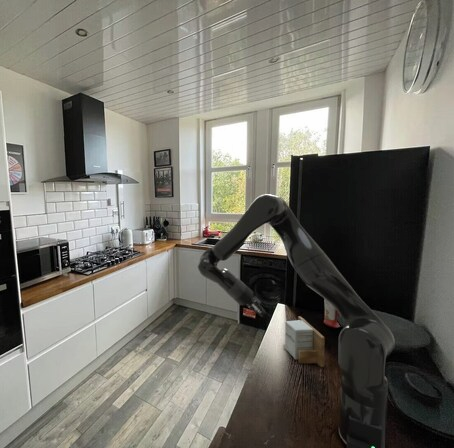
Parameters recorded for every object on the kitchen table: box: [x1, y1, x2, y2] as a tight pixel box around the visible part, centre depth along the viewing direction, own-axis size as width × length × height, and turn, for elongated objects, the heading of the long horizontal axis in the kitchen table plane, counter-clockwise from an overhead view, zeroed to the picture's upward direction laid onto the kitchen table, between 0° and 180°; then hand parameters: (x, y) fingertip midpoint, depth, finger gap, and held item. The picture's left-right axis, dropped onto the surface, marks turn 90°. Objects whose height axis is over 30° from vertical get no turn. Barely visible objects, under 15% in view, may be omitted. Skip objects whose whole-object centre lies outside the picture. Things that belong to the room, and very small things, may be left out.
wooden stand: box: [297, 316, 326, 368], centre depth 100 cm, size 8×16×12 cm, turn 178°
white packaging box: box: [284, 319, 313, 361], centre depth 100 cm, size 7×7×13 cm
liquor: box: [323, 298, 341, 329], centre depth 118 cm, size 7×7×28 cm
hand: (269, 318), depth 99 cm, fingers closed
